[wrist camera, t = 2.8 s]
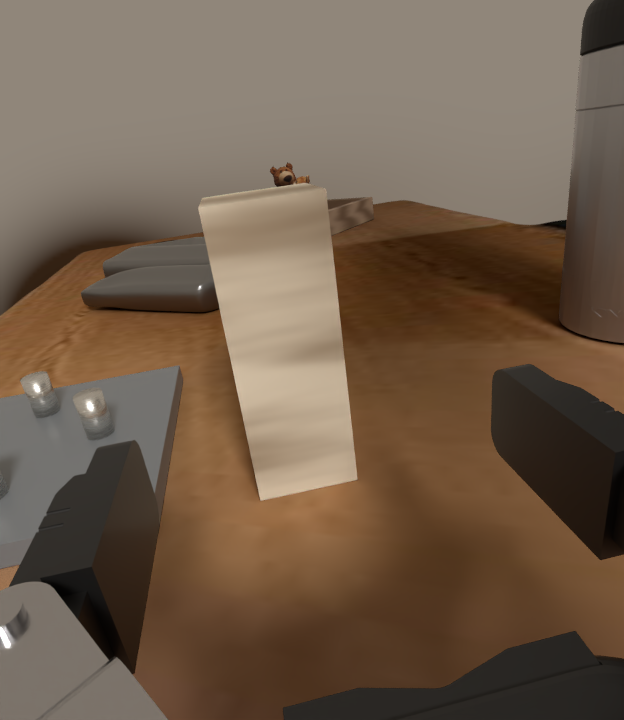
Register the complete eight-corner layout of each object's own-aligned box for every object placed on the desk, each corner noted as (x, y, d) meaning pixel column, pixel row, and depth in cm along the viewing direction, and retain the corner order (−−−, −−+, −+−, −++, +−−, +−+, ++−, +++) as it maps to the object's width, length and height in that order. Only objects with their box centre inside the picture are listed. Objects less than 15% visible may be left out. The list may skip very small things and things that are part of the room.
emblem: (41, 290, 47) (114, 242, 73) (60, 341, 49) (124, 277, 75) (326, 247, 49) (299, 214, 74) (332, 298, 51) (304, 249, 76)
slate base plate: (-48, 423, 34) (-72, 375, 32) (183, 380, 36) (171, 333, 34) (-249, 623, 19) (-308, 553, 18) (158, 533, 21) (135, 463, 20)
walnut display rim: (293, 221, 104) (290, 201, 103) (373, 218, 93) (372, 197, 92) (227, 242, 90) (223, 220, 88) (313, 242, 79) (310, 217, 77)
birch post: (254, 446, 27) (202, 197, 21) (336, 429, 27) (305, 182, 22) (260, 500, 22) (198, 207, 17) (357, 479, 23) (326, 188, 18)
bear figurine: (277, 242, 84) (265, 167, 80) (262, 231, 98) (252, 166, 93) (351, 229, 87) (344, 155, 82) (327, 220, 100) (320, 157, 96)
